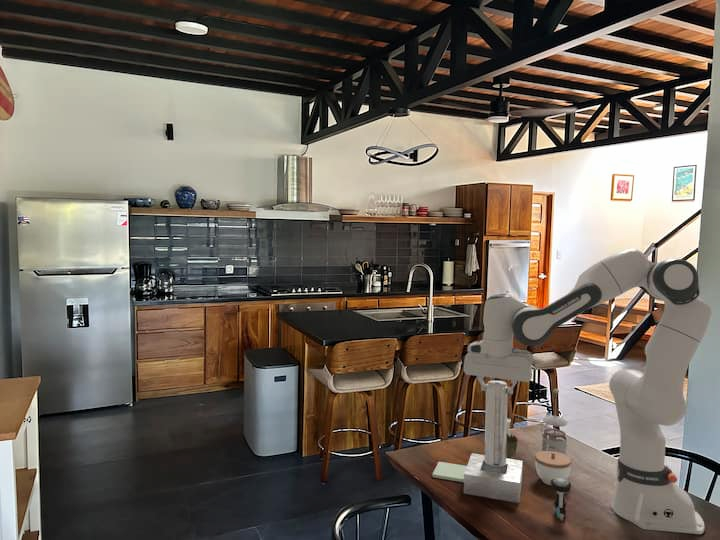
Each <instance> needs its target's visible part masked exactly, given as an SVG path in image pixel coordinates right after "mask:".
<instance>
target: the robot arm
mask: <svg viewBox="0 0 720 540" xmlns="http://www.w3.org/2000/svg"><path fill="white" fill-rule="evenodd" d="M635 288H639V289H640V290H642V291H643V292H644V293H645V294H647V295H648V296H649V297H651V298H652V299H654V300H656V301H662V302H663V304H664V310H663V312H662V316H661V318H660V319H659V321H658V322H657V325H656V327H655V328H654V330H653V331H652V334H651V336H650V338H649V340H648V341H647V343H646V344H645V347H644V354H645V358H646V361H645V365H644V366H645V367H644V371H643V372H642V371H640V370H637V369H629V368H624V369H623V368H622V369H619V370H618V371H616V372H615V373H613V374H612V376H611V377H610V379H609V383H608V385H609V387H608V388H609V391H610V393H611V395H612V398H613V400H614V403H615V404H614V405H615V409H616V413H617V419H618V424H619V431H620V432H619V433H620V436H619V437H620V439H619V457H618V458H617V464H616V478H617V483H616V486H615V487H616V488H615V491H614V492H615V493H614V496H613V499H612V501H611V503H610V507H611V510H612V511H613V512H614V513H615V514H616V515H618V516H619V517H621V518H623V519H625V520H627V521H629V522H631V523H633V524H635V525H636V526H637V527H638V528H640V529H642V530H647V531H648V530H649V531H650V530H651V531H657V532H658V531H660V532H671V533H681V534H682V533H683V534H690V535H691V534H694V535H702V534H704V532H705V528H706V527H705V522H704V519H703V518H702V516H701V515H700V513H698V512H697V510H695V506H694V503H693V500H692V499H691V497H690V495H689V494H688V493H687V492H686V491H685V490H684V489H682V488H681V487H680V486H679V485H678V484H677V482H678V478H677V475H676V474H675V473H673V470H671V469H670V467H669V466H668V465H665V464H666V463H665V457H666V438H665V437H666V436H665V435H664V434H663V432H662V429H661V427H660V425H661V426H664V427H665V426H667V427H669V426H674V425H676V424H678V423H680V422H681V421H682V419H683V418H684V417H685V414H686V411H687V404H686V399H685V396H684V385H685V379H686V375H687V371H688V367H689V366H690V363H691V362H692V359H693V358H694V356H695V354H696V353H697V350H698V348H699V345H700V344H701V342H702V340H703V338H704V336H705V334H706V332H707V330H708V326H709V323H710V320H711V316H712V309H711V307H710V305H709V304H708V303H707V301H705V300H704V299H702V298H700V297H699V296H700V287H699V274H698V270H697V269H696V267H695V266H694V265H693V264H692V263H690V262H689V261H687V260H685V259H681V258H676V257H675V258H674V257H673V258H668V259H665V260H661V261H658V262H652V260H650V259H649V258H648V257H647V255H646V254H645V253H644V252H643V251H641V250H639V249H636V248H629V249H625V250H622V251H619V252H617V253H615V254H612V255H610V256H607V257H605V258H603V259H602V260H600V261H597V262H596V263H594V264H593V265H591V266H589V267H588V268H587V269H585V270H584V271H583V272H581V274H579V276H578V278H577V281H576V283H575V284H574V287H573V288H572V289H571V290H570V291H569V292H568V293H567V294H565V295H563V296H561V297H560V298H557V299H556V300H555V301H553V302H551V303H550V304H548V305H546V306H545V307H542V308H538V307H537V306H533V305H531V304H527V303H525V302H522V301H520V300H518V299H517V298H516V297H513V296H512V294H509V293H502V294H501V293H498V294H494V295H491V296H489V297H487V299H486V300H485V303H484V307H483V317H482V318H483V321H482V322H483V326H484V331H483V335H482V339H481V340H476V341H473V342H471V343H469V344H468V346H467V353H466V355H465V356H464V361H463V372H464V374H465V375H468V376H474V377H477V381H478V383H479V384H480V390H481V391H482V392H483V391H484V392H486V384H487V383H485V381H484V378H492V379H500V380H508V381H510V384H511V386H508V388H507V394H508V395H513V394H514V388H515V386H516V384H517V383H518V382H524V383H529V382H530V381H531V380H532V379H533V368H532V365H533V364H534V355H533V353H532V352H530V351H529V350H526V349H520V348H514V337H515V339H516V340H517V341H518V342H519V343H521V344H523V345H524V346H528V347H535V346H536V347H537V346H540V345H542V344H544V342H546V341H547V340H548V338H550V336H551V335H552V333H553V332H554V331H555V330H556V329H557V328H559V327H560V326H562V325H564V324H565V323H567V322H568V321H570V320H572V319H574V318H575V317H577V316H579V315H580V314H582V313H584V312H585V311H587V310H589V309H591V308H594V307H596V306H598V305H601V304H604V303H606V302H609V301H611V300H612V299H613V300H614V299H615V298H616V297H619V296H621V295H623V294H624V293H626V292H628V291H630V290H632V289H635Z"/></svg>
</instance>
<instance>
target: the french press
mask: <svg viewBox="0 0 720 540" xmlns="http://www.w3.org/2000/svg"><path fill="white" fill-rule="evenodd" d="M552 392H553V393H555V395H557V394H559V393H560V390H559V389H558V388H554V389H553V390H552ZM554 401H555V402H554V406H555V407H554V415H548V416H545V417H543V418H542V423H541V426H540V427H541V428H540V429H541V430H540V433H541V437H542V441H541V443H542V444H541V446H542V448H541V451H554V452H559V453H562V454H564V455H567V453H566V452H567V436H566V435H567V434H566V432H565V431H563V430H560V429H558V428H557V429H556V427H565V426H567V425H568V422H569V421H568V420H566V419H565V418H563V417H561V416H557V415H556V414H557V400H554ZM544 423H545V428H544V430H543V424H544ZM547 426H553V427H554V428H547ZM560 438H561V439H560Z"/></svg>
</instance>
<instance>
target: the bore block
mask: <svg viewBox="0 0 720 540" xmlns="http://www.w3.org/2000/svg"><path fill="white" fill-rule="evenodd" d="M484 459H485V454H480V453H479V454H478V453H473V452H472V453H471V454H470V457H469V460H468V462H467V464H466V466H467V467H466V470H465V473H464V482H463V494H465V495H466V494H467V495H470V496H477V497H482V498H483V497H484V498H489V499H494V500H500V501H505V502H511V503H516V504H520V500H521V499H520V498H521V491H522V483H523V482H522V481H523V467H524V466H523V460H520V459H513V458H512V459H507V458H506V465H504V466H501V467H495V466H490V465H488V464H486V463H485V461H484Z"/></svg>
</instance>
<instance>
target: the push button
mask: <svg viewBox="0 0 720 540" xmlns="http://www.w3.org/2000/svg"><path fill="white" fill-rule="evenodd" d="M550 486H551V488H552V489H553V490H554V491H555V492H556V496H555V499H554V501H553V504H554V505H553V506H554V507H553V514H556V517H557V519H559V520H560V521H564V519H565V516H566V515H567V514H566V513H567V510H566V506H567V502H566V500H565V493H568V492H570V491H571V487H572V484H571V483H570V481H568V479H566V478H563V477H555V478H554V479H552V480H551V485H550Z"/></svg>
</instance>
